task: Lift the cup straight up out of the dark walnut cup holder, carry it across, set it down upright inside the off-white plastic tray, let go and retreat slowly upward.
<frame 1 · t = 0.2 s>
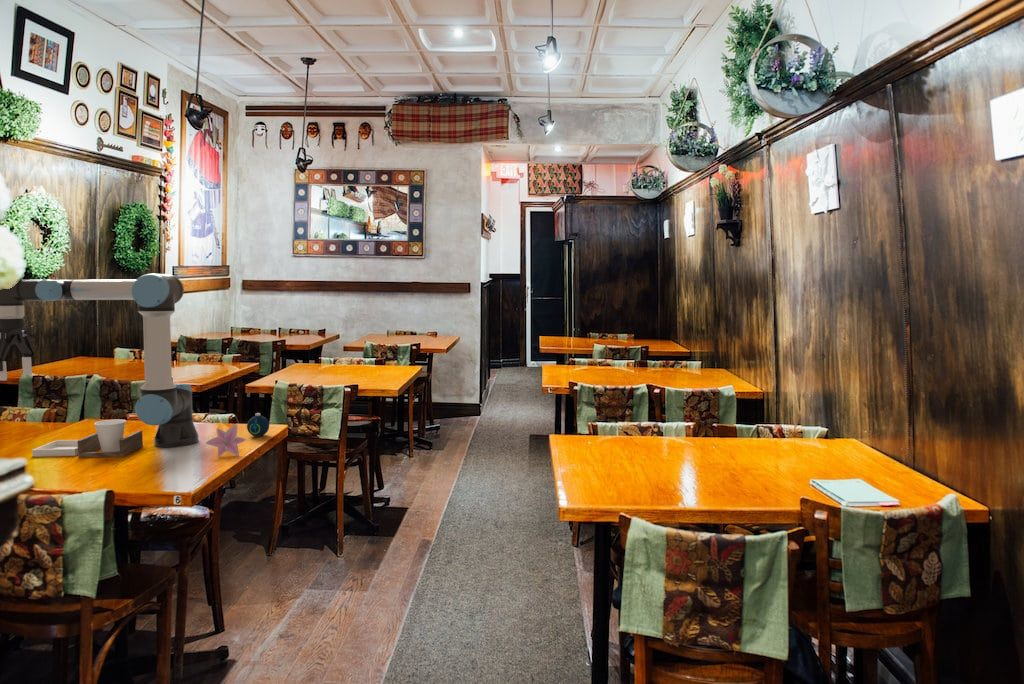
hand: (15, 377, 231), 28 cm above the table, tool pointing down, fingers open, 13 cm apart
cup: (111, 452, 238), resting in cup holder
tray: (65, 451, 238), on the table
christmas ornament: (258, 436, 263), on the table
cup holder: (111, 451, 238), on the table
lily: (227, 454, 236), on the table
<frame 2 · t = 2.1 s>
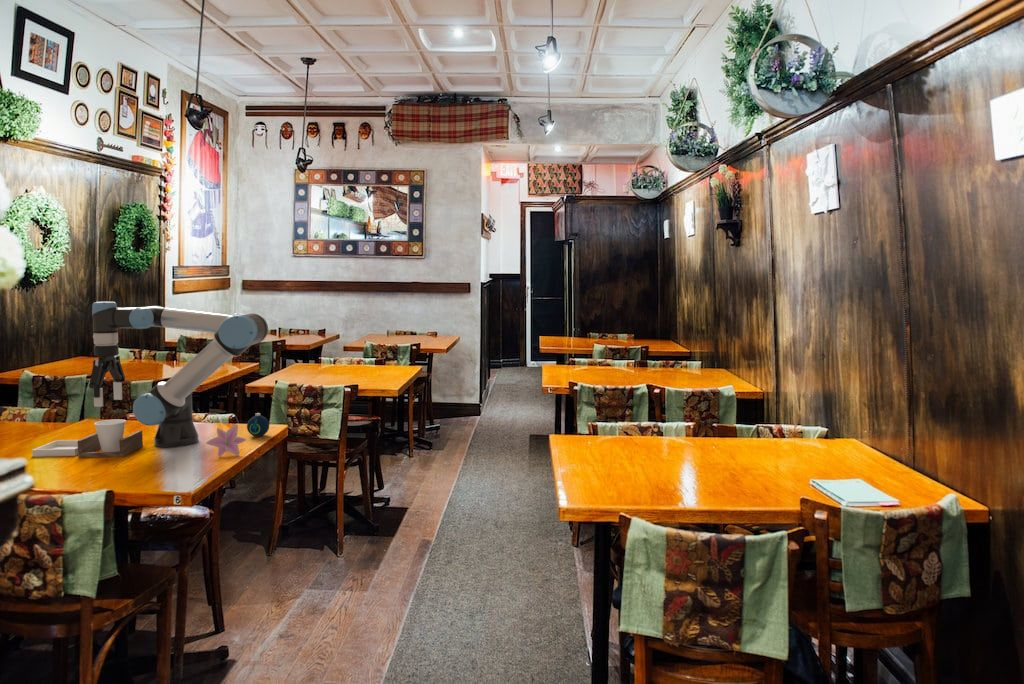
hand: (108, 403, 236), 18 cm above the table, tool pointing down, fingers open, 13 cm apart
nothing on the table moved.
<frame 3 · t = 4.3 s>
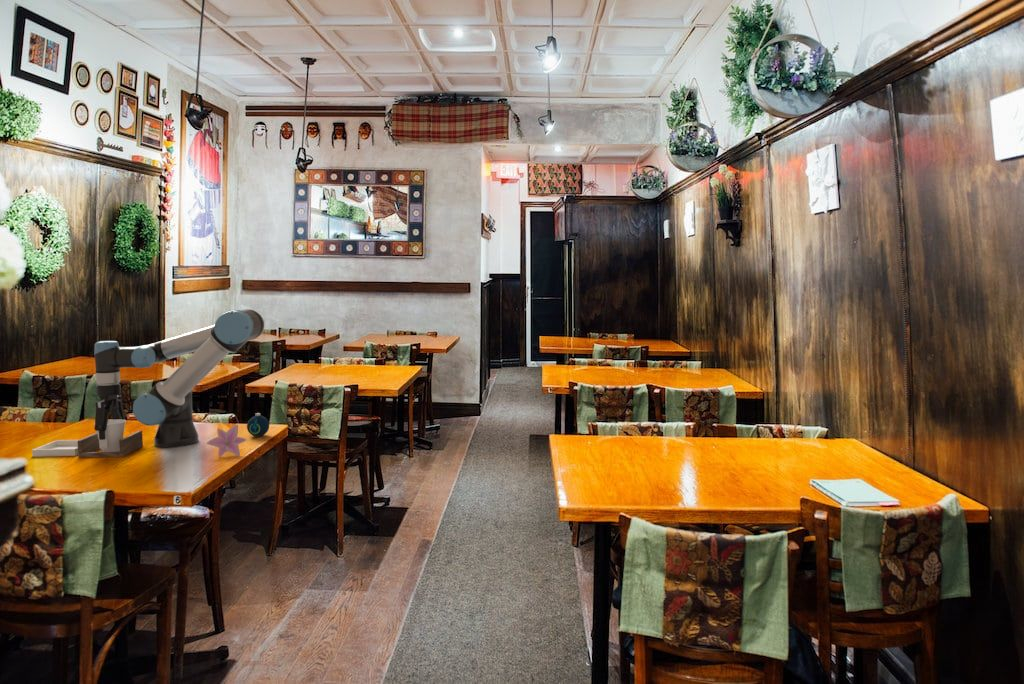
hand: (111, 444, 237), 3 cm above the table, tool pointing down, fingers closed on cup, 9 cm apart
cup: (111, 452, 238), resting in cup holder, touching gripper
everything else where it was.
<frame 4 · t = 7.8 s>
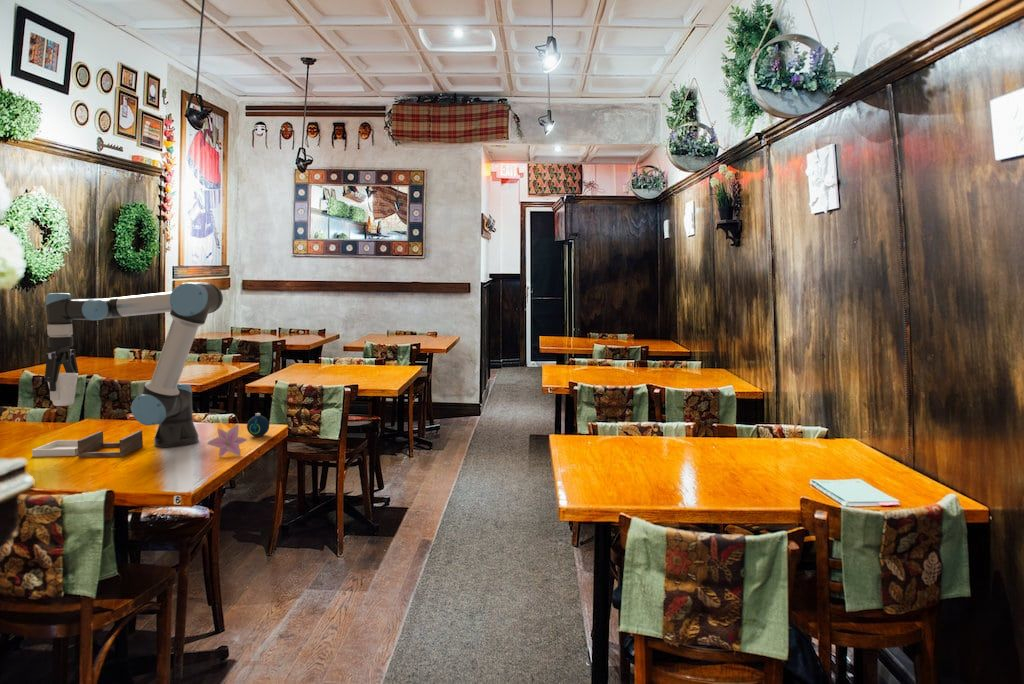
hand: (63, 397, 236), 20 cm above the table, tool pointing down, fingers closed on cup, 9 cm apart
cup: (63, 405, 236), point 17 cm above the table, touching gripper
everything else where it was.
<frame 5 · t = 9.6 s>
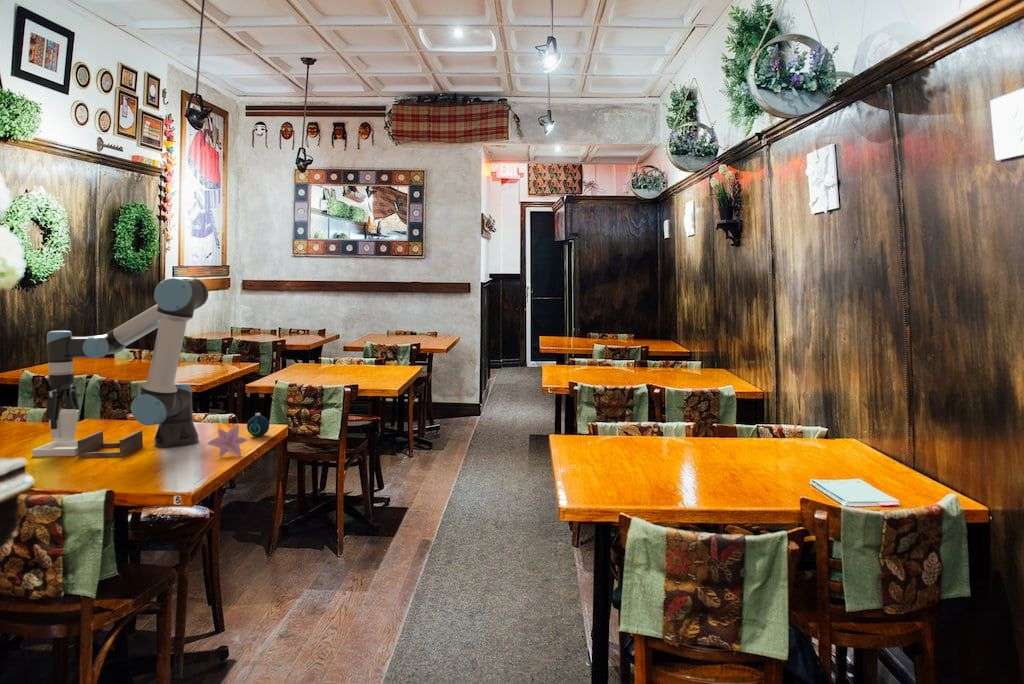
hand: (64, 434, 237), 6 cm above the table, tool pointing down, fingers closed on cup, 9 cm apart
cup: (64, 441, 238), point 3 cm above the table, touching gripper
everything else where it was.
when the fingers open (3 cm above the table, at t = 11.3 s): cup stays where it is, resting on tray.
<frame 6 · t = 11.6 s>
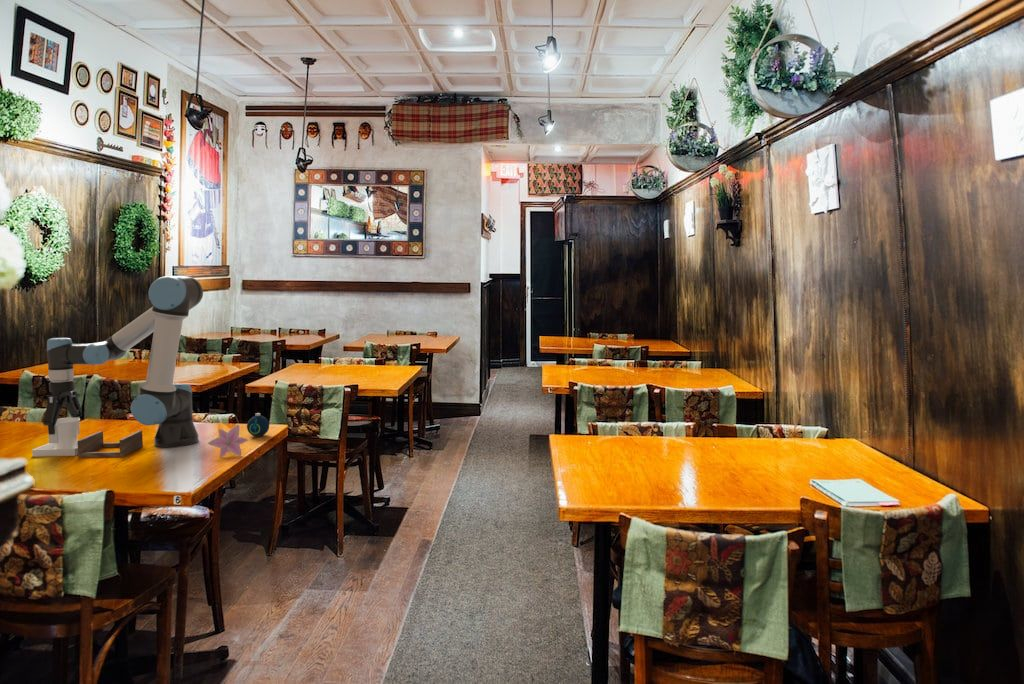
hand: (64, 438, 237), 5 cm above the table, tool pointing down, fingers open, 13 cm apart
cup: (65, 450, 238), resting on tray
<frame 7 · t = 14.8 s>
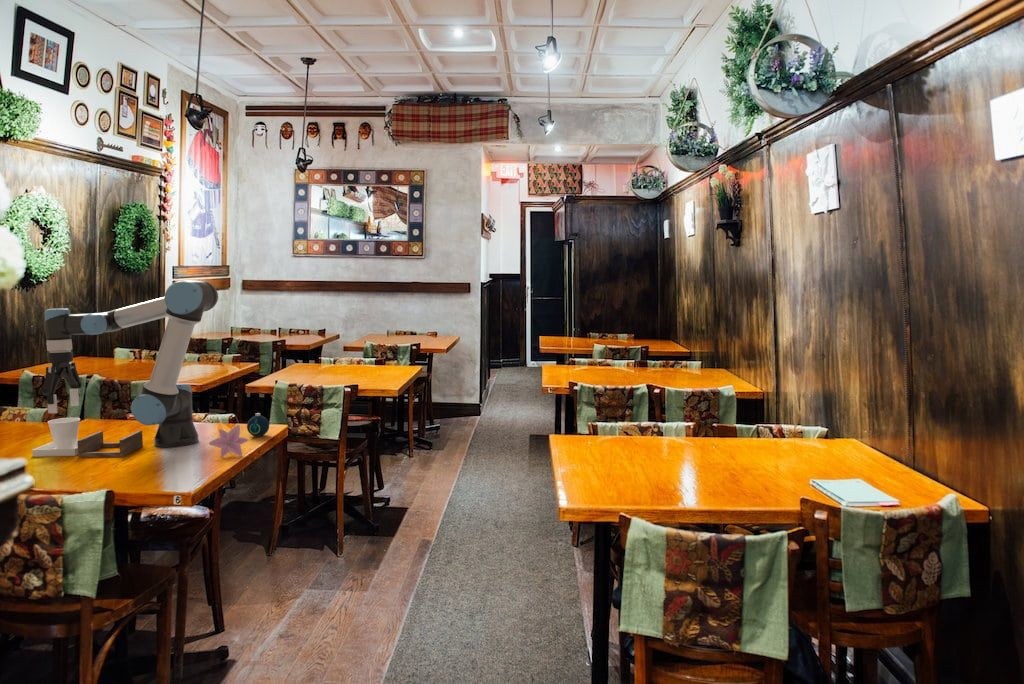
hand: (64, 409, 236), 15 cm above the table, tool pointing down, fingers open, 13 cm apart
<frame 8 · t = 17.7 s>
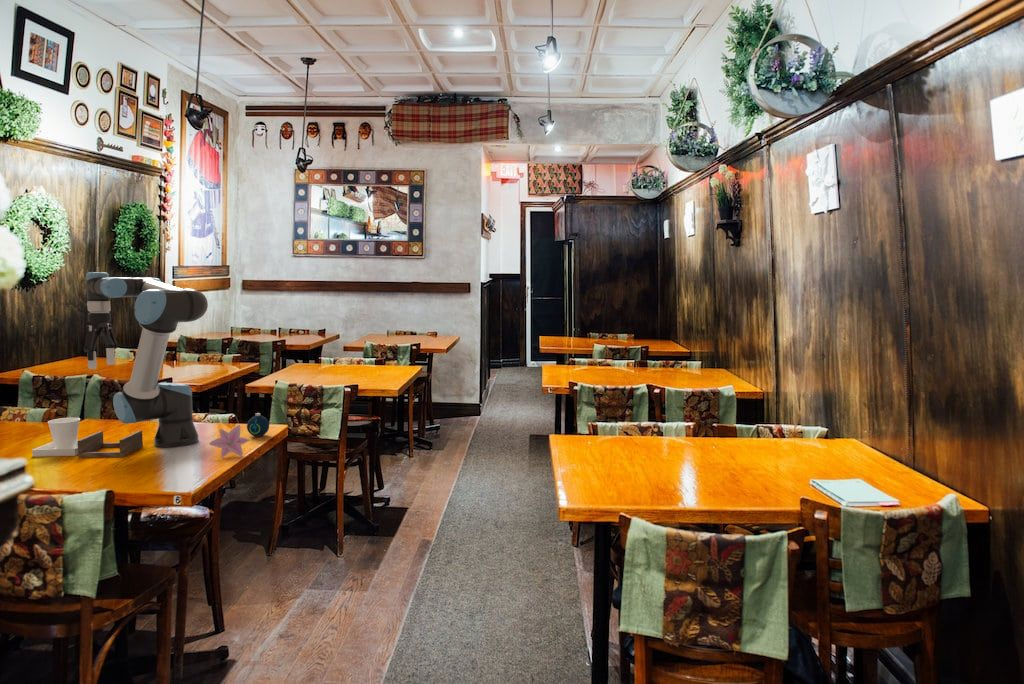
hand: (102, 366, 254), 29 cm above the table, tool pointing down, fingers open, 13 cm apart
at the end: cup inside the target area on the tray (0.2 cm from its centre), point 0.2 cm above the tray's base; cup tilted 0°; the gripper is holding nothing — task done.
